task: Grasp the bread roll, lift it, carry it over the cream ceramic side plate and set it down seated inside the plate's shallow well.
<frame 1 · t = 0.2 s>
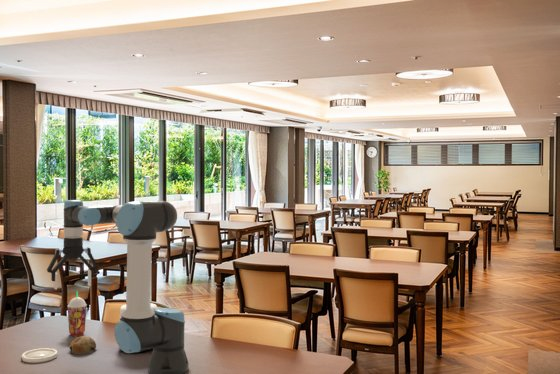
hand: (72, 287, 234), 26 cm above the table, fingers open, 13 cm apart
plate: (39, 357, 224), on the table
bread roll: (82, 351, 233), on the table
milk container: (138, 348, 238), on the table
smoothie: (76, 335, 256), on the table
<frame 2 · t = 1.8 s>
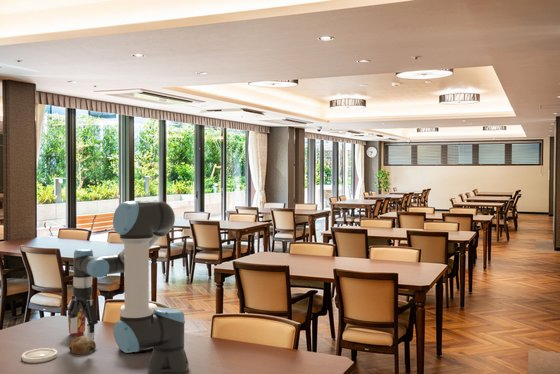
hand: (82, 336, 234), 6 cm above the table, fingers open, 13 cm apart
nothing on the table moved.
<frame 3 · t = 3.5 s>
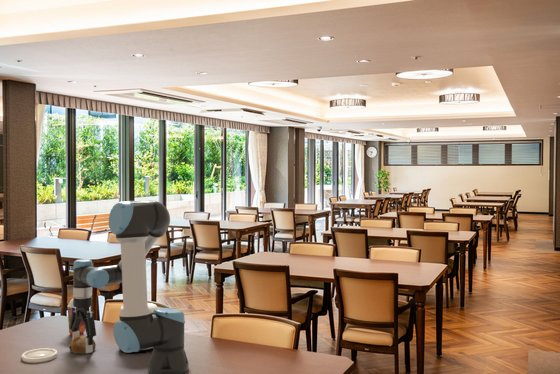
hand: (82, 349, 233), 0 cm above the table, fingers closed on bread roll, 10 cm apart
bread roll: (81, 351, 233), on the table, touching gripper
everything else where it was.
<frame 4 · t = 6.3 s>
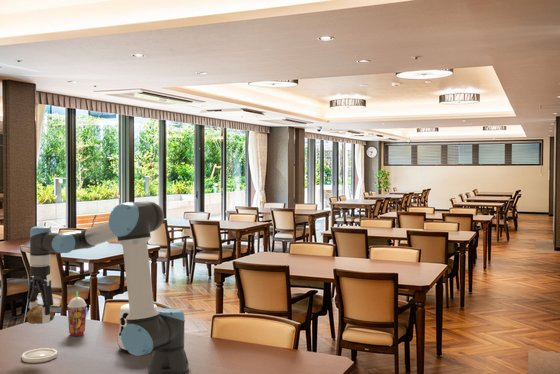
hand: (39, 320, 224), 15 cm above the table, fingers closed on bread roll, 10 cm apart
bread roll: (39, 321, 224), point 14 cm above the table, touching gripper
everything else where it was.
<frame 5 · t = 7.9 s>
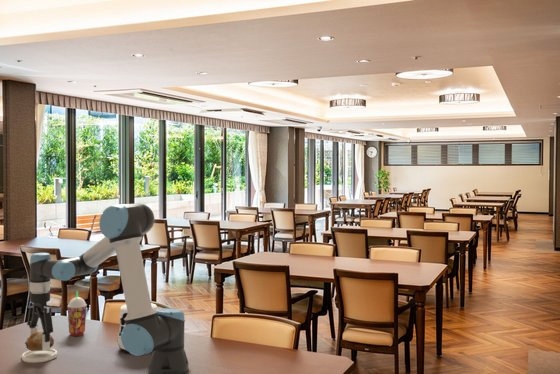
hand: (39, 346, 224), 4 cm above the table, fingers closed on bread roll, 10 cm apart
bread roll: (39, 348, 224), point 4 cm above the table, touching gripper
everything else where it was.
when the fingers open (3 cm above the table, at t = 8.9 s): bread roll drops 1 cm, resting on plate.
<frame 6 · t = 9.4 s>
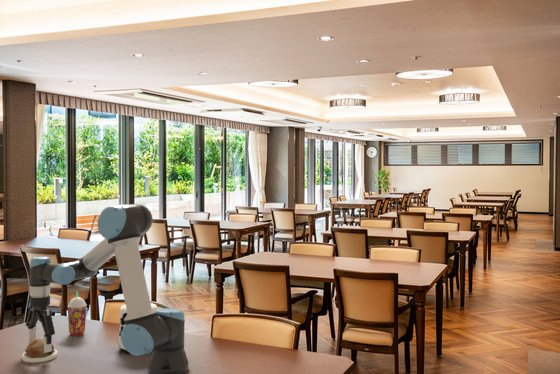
hand: (39, 348, 224), 4 cm above the table, fingers open, 13 cm apart
bread roll: (39, 355, 224), point 1 cm above the table, touching plate
everything else where it was.
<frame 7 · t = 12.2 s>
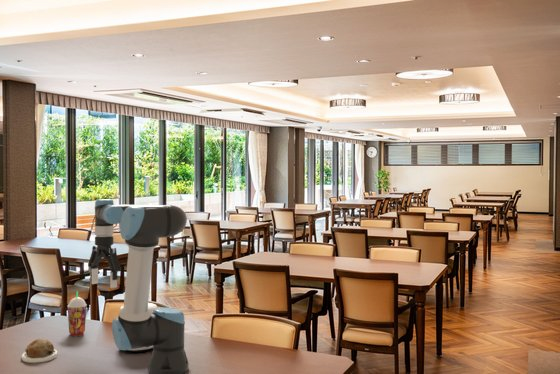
hand: (104, 285, 237), 27 cm above the table, fingers open, 13 cm apart
nothing on the table moved.
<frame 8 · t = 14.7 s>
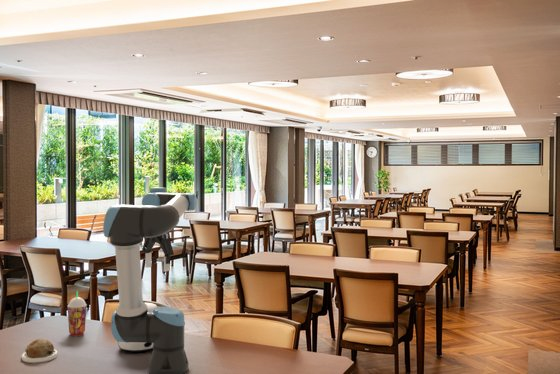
hand: (157, 269, 250), 32 cm above the table, fingers open, 13 cm apart
nothing on the table moved.
at the end: bread roll 0.2 cm from the plate (horizontally); bread roll touching plate; the gripper is holding nothing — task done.
